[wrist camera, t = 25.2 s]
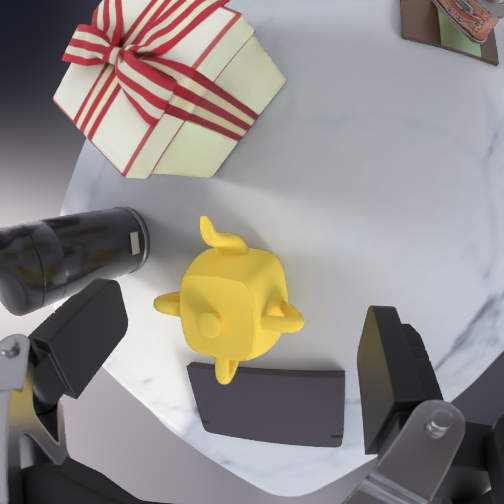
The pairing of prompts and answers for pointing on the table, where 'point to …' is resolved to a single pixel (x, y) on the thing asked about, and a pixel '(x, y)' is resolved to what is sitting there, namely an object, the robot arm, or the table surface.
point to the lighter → (472, 16)
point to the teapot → (231, 302)
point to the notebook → (272, 404)
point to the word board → (442, 31)
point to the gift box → (166, 84)
